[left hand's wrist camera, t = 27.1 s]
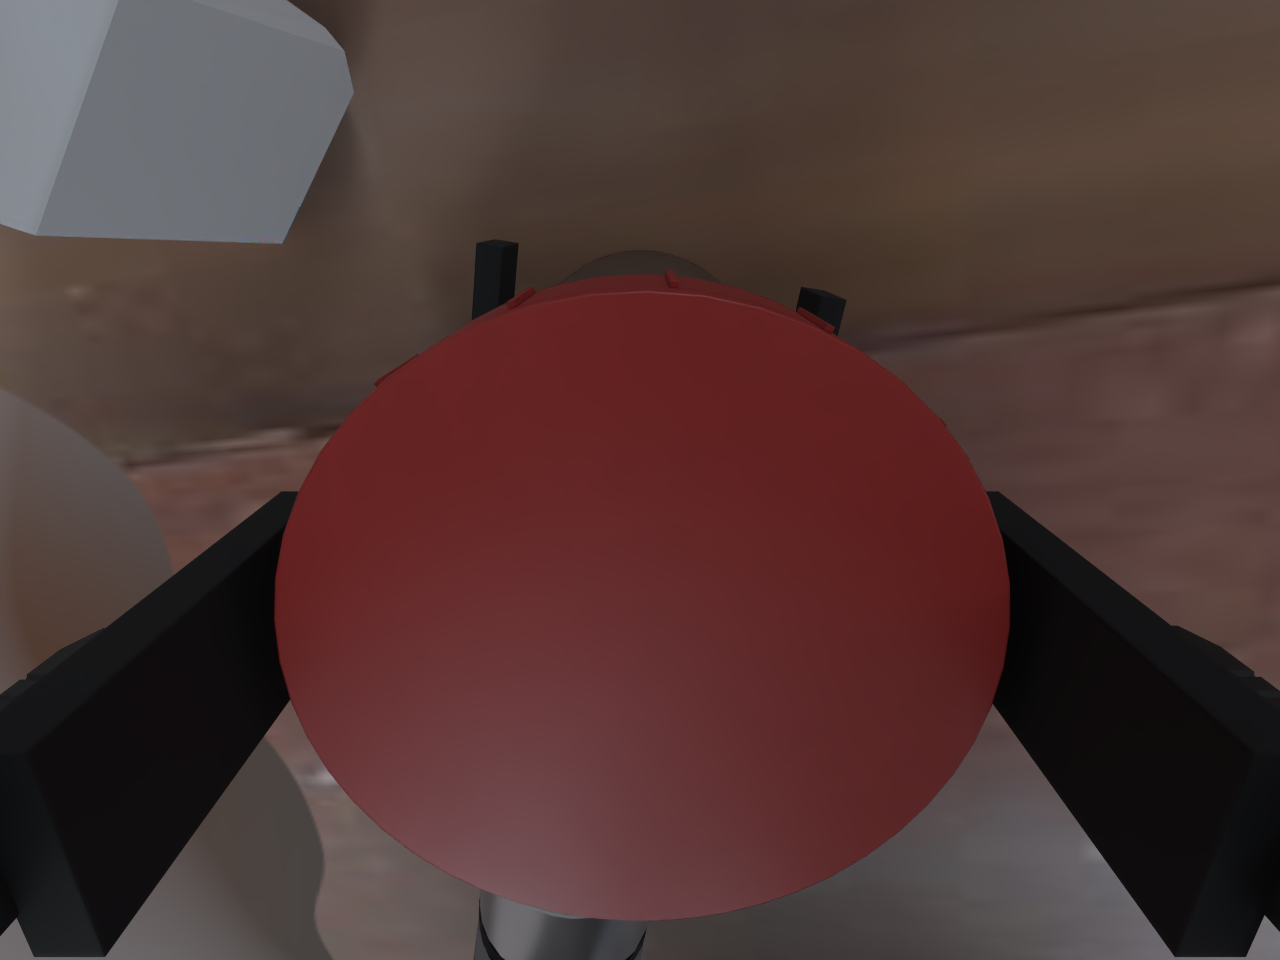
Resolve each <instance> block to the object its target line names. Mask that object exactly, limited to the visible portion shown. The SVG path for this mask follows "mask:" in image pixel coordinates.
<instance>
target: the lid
mask: <svg viewBox="0 0 1280 960" xmlns="http://www.w3.org/2000/svg"><path fill="white" fill-rule="evenodd" d="M834 329H835V327H833V326H832V325H830V324H828V323H827V322H825V321H823V320H822V319H820V318H818V317H816V316H815V315H813V314H811V313H810V312H808V311H806V310H805V309H803V308H801V307H799V308H798V310H797V312H795V311H793V310H791V309H789V308H787V307H785V306H784V305H782V304H780V303H778V302H775V301H772V300H769V299H767V298H764V297H761V296H759V295H756V294H753V293H750V292H748V291H745V290H742V289H739V288H737V287H732V286H728V285H723V284H719V283H714V282H709V281H705V280H700V279H696V278H690V277H677V276H676V275H675V273H674V272H673V270H666V271H665V276H664V275H652V274H637V275H620V276H603V277H595V278H590V279H585V280H580V281H575V282H570V283H565V284H560V285H555V286H552V287H549V288H546V289H543V290H540V291H537V292H535V290H534V287H530V288H527V289H525V290H524V291H522V292H521V293H519V294H518V295H516V296H515V297H513V298H512V299H510V300H509V301H507V302H506V303H505V304H503V305H501V306H499V307H497V308H495V309H493V310H491V311H490V312H488V313H486V314H484V315H482V316H480V317H478V318H476V319H474V320H472V321H470V322H469V323H467V324H466V325H464V326H462V327H461V328H459V329H458V330H456V331H455V332H453V333H452V334H450V335H448V336H447V337H445V338H444V339H442V340H441V341H439V342H438V343H436V344H434V345H433V346H431V347H430V348H428V349H427V350H426V351H424V352H423V353H421V354H420V355H418V354H417V355H416V356H414V357H412V358H411V359H409V360H408V361H406V362H405V363H403V364H401V365H400V366H398V367H397V368H395V369H394V370H392V371H390V372H389V373H387V374H386V375H384V376H383V377H381V378H379V379H378V380H377V381H376V382H375V383H374V385H375V386H376V387H377V388H376V389H375V390H374V391H373V392H372V393H370V394H369V395H368V396H367V397H366V398H365V399H364V400H363V401H362V402H361V403H360V404H359V405H358V406H357V407H356V408H355V409H354V410H353V411H352V412H351V413H350V414H349V415H348V416H347V418H346V419H345V420H344V422H343V423H342V424H341V426H340V427H339V428H338V429H337V431H336V432H335V433H334V435H333V436H332V437H331V439H330V440H329V441H328V442H327V444H326V445H325V446H324V448H323V449H322V450H321V452H320V454H319V455H318V457H317V459H316V461H315V463H314V464H313V466H312V468H311V470H310V472H309V474H308V475H307V477H306V479H305V481H304V483H303V485H302V486H301V488H300V490H299V492H298V495H297V497H296V500H295V503H294V506H293V509H292V511H291V514H290V517H289V520H288V523H287V525H286V528H285V531H284V534H283V539H282V544H281V550H280V555H279V560H278V566H277V571H276V577H275V608H274V623H275V631H276V638H277V646H278V654H279V661H280V665H281V668H282V672H283V675H284V679H285V683H286V686H287V690H288V693H289V697H290V700H291V702H292V705H293V707H294V709H295V711H296V714H297V716H298V718H299V720H300V723H301V725H302V727H303V729H304V731H305V734H306V736H307V738H308V739H309V741H310V743H311V744H312V746H313V747H314V749H315V751H316V752H317V754H318V756H319V757H320V759H321V760H322V762H323V764H324V765H325V767H326V768H327V770H328V771H329V773H330V774H331V775H332V776H333V778H334V779H335V780H336V781H337V782H338V784H339V785H340V786H341V787H342V789H343V790H344V791H345V792H346V793H347V795H348V796H349V797H350V798H351V800H352V801H353V802H354V803H355V804H356V805H357V806H358V807H359V808H360V809H361V810H362V811H363V812H364V813H366V814H367V815H368V816H369V817H370V818H371V819H372V820H373V821H374V822H375V823H376V824H377V825H378V826H379V827H380V828H381V829H382V830H384V831H385V832H386V833H388V834H389V835H390V836H392V837H393V838H394V839H395V840H397V841H398V842H399V843H401V844H402V845H403V846H405V847H406V848H407V849H409V850H410V851H411V852H412V853H414V854H416V855H417V856H419V857H421V858H422V859H424V860H426V861H427V862H429V863H431V864H432V865H434V866H436V867H437V868H439V869H441V870H442V871H444V872H445V873H447V874H449V875H451V876H454V877H456V878H458V879H460V880H462V881H464V882H466V883H468V884H471V885H473V886H475V887H477V888H479V889H481V890H484V891H486V892H489V893H492V894H495V895H498V896H501V897H503V898H506V899H509V900H512V901H515V902H518V903H520V904H524V905H528V906H533V907H537V908H541V909H545V910H549V911H553V912H557V913H562V914H569V915H575V916H582V917H589V918H596V919H609V920H627V921H654V920H679V919H687V918H694V917H702V916H709V915H716V914H722V913H726V912H730V911H735V910H739V909H743V908H748V907H752V906H756V905H760V904H763V903H766V902H769V901H772V900H775V899H777V898H780V897H783V896H786V895H789V894H792V893H795V892H798V891H800V890H802V889H804V888H806V887H809V886H811V885H813V884H815V883H818V882H820V881H822V880H824V879H826V878H829V877H831V876H833V875H834V874H836V873H838V872H840V871H841V870H843V869H845V868H847V867H848V866H850V865H852V864H853V863H855V862H857V861H859V860H860V859H862V858H864V857H865V856H867V855H868V854H870V853H871V852H872V851H874V850H875V849H876V848H878V847H879V846H881V845H882V844H883V843H885V842H886V841H887V840H889V839H890V838H891V837H893V836H894V835H895V834H897V833H898V832H899V831H900V830H901V829H902V828H904V827H905V826H906V825H907V824H908V823H909V822H910V821H911V820H912V819H913V818H914V817H915V816H916V815H918V814H919V813H920V812H921V811H922V810H923V809H924V808H925V807H926V806H927V805H928V804H929V803H930V802H931V800H932V799H933V798H934V797H935V796H936V795H937V793H938V792H939V791H940V790H941V789H942V787H943V786H944V785H945V784H946V783H947V782H948V780H949V779H950V778H951V777H952V776H953V774H954V773H955V771H956V770H957V768H958V767H959V765H960V764H961V762H962V760H963V759H964V757H965V756H966V754H967V753H968V751H969V750H970V748H971V747H972V745H973V743H974V742H975V740H976V738H977V736H978V734H979V731H980V729H981V727H982V725H983V723H984V721H985V719H986V717H987V715H988V712H989V710H990V708H991V706H992V703H993V700H994V697H995V693H996V690H997V687H998V684H999V681H1000V677H1001V674H1002V671H1003V668H1004V662H1005V655H1006V649H1007V642H1008V636H1009V629H1010V582H1009V575H1008V569H1007V563H1006V557H1005V550H1004V544H1003V539H1002V536H1001V533H1000V530H999V527H998V524H997V521H996V518H995V515H994V512H993V509H992V506H991V503H990V500H989V497H988V495H987V493H986V491H985V489H984V487H983V485H982V484H981V482H980V480H979V478H978V476H977V474H976V472H975V470H974V468H973V466H972V464H971V462H970V460H969V458H968V457H967V455H966V454H965V452H964V451H963V450H962V448H961V447H960V446H959V444H958V443H957V442H956V440H955V439H954V437H953V436H952V435H951V433H950V432H949V431H948V429H947V428H946V426H947V425H946V424H945V422H944V421H943V420H942V419H940V418H939V417H938V416H937V415H936V414H935V413H934V412H933V411H932V410H931V409H930V408H929V407H928V406H927V405H926V404H925V403H924V402H923V401H922V400H921V399H920V398H919V397H918V396H917V395H916V394H915V393H914V392H913V391H912V390H911V389H910V388H909V387H908V386H907V385H906V384H905V383H904V382H902V381H901V380H900V379H898V378H897V377H896V376H894V375H893V374H892V373H890V372H889V371H888V370H886V369H885V368H884V367H882V366H881V365H879V364H878V363H877V362H875V361H874V360H873V359H871V358H870V357H869V356H867V355H866V354H865V353H863V352H862V351H860V350H859V349H857V348H856V347H854V346H852V345H851V344H849V343H848V342H846V341H844V340H843V339H841V338H840V337H838V336H836V335H835V334H833V333H832V332H833V330H834Z"/></svg>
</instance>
